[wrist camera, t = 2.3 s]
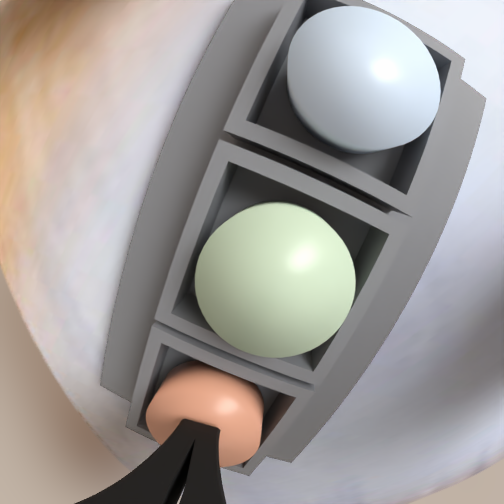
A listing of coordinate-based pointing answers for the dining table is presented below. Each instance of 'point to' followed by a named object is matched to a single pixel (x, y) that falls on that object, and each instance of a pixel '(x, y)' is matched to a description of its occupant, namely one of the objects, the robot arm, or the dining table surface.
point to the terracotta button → (210, 408)
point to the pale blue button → (361, 80)
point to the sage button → (275, 280)
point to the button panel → (280, 189)
